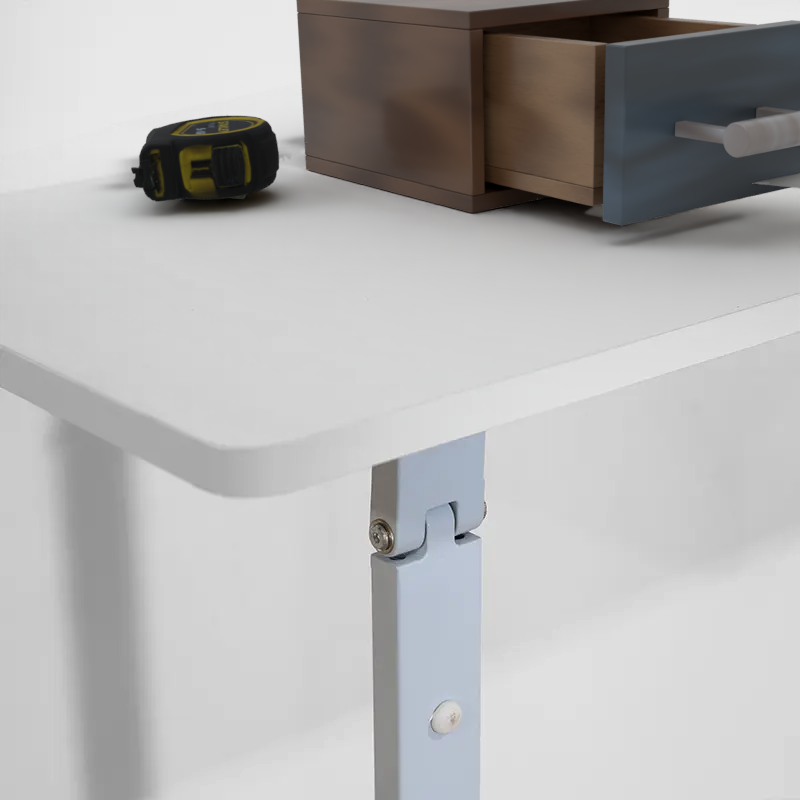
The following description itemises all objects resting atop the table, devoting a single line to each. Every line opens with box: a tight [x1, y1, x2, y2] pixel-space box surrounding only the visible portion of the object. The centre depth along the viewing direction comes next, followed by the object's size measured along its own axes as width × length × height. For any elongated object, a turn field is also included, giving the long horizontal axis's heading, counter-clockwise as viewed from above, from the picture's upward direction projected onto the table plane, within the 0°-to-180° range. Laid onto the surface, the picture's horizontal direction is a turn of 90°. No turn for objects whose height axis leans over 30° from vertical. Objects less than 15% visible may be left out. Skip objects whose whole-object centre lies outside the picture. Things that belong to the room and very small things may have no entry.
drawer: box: [482, 14, 800, 227], centre depth 63 cm, size 18×11×7 cm, turn 36°
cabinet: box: [295, 0, 670, 214], centre depth 72 cm, size 15×13×9 cm
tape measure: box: [130, 115, 280, 203], centre depth 69 cm, size 7×7×4 cm
